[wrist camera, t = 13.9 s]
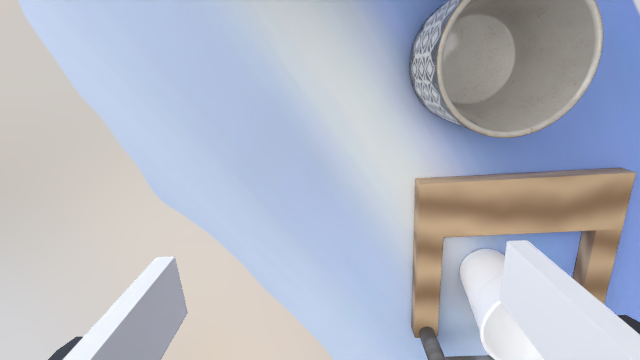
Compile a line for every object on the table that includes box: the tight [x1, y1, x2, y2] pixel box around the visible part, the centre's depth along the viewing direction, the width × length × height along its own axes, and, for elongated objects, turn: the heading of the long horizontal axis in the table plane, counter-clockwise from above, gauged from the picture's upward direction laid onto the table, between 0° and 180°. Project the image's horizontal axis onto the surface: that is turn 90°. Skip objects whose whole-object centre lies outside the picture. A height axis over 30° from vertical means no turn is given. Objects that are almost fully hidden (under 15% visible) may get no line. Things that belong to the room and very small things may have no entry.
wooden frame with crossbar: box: [411, 168, 636, 360], centre depth 39 cm, size 22×24×8 cm
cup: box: [459, 249, 544, 360], centre depth 38 cm, size 10×10×11 cm
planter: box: [409, 0, 603, 138], centre depth 31 cm, size 13×13×10 cm
